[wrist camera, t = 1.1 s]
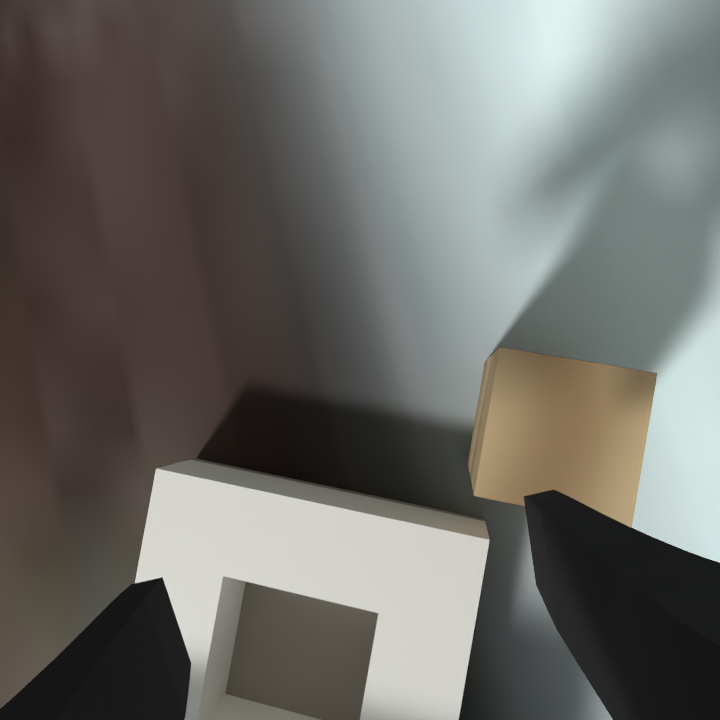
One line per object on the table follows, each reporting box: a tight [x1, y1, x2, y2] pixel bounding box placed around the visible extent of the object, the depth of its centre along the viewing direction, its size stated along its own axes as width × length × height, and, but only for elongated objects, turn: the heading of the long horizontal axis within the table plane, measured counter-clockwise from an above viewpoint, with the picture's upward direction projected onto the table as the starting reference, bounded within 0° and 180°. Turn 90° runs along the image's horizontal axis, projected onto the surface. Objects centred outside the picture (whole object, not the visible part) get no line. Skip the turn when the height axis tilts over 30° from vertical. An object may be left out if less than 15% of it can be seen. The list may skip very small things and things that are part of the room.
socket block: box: [135, 458, 490, 720], centre depth 23 cm, size 12×12×4 cm
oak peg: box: [468, 347, 657, 527], centre depth 20 cm, size 4×4×8 cm
